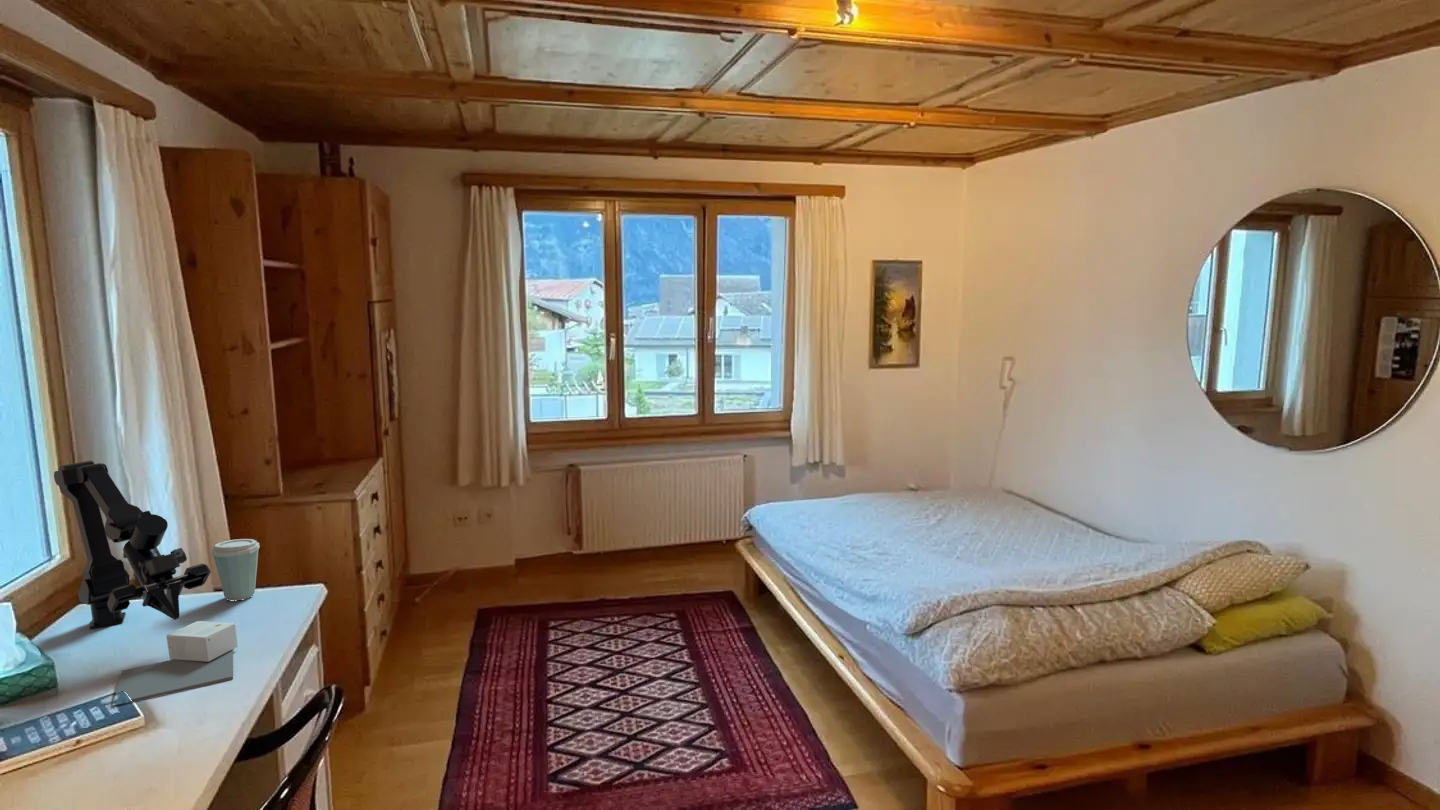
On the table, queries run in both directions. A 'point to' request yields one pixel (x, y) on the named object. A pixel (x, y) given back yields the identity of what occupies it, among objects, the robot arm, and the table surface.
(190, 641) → the small box
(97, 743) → the table surface
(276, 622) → the table surface
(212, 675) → the charcoal mat
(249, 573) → the disposable coffee cup
